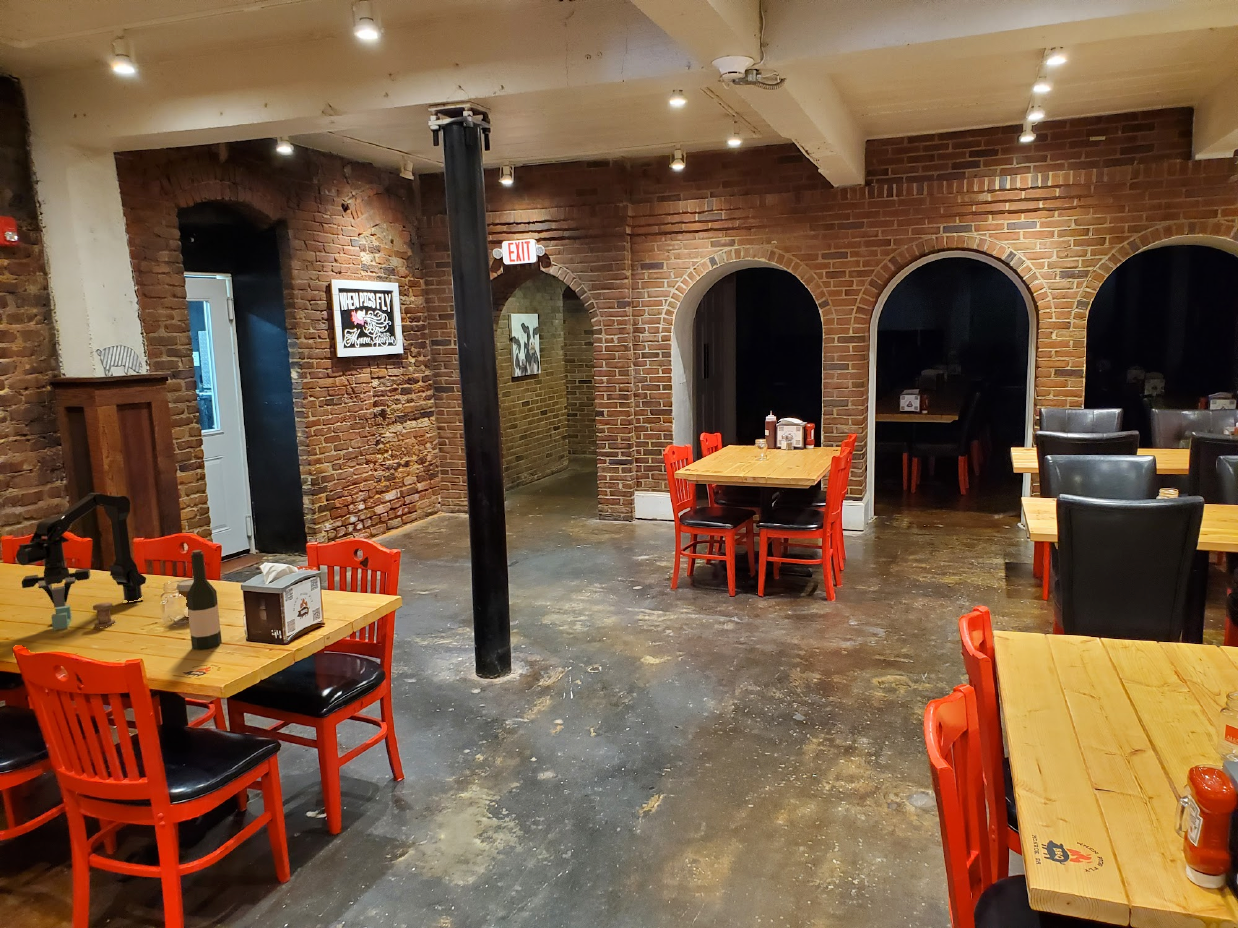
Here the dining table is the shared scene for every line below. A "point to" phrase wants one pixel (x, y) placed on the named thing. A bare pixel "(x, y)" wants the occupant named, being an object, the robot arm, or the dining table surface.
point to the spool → (103, 614)
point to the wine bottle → (202, 608)
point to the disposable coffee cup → (184, 587)
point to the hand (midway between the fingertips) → (60, 602)
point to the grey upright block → (58, 596)
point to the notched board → (61, 617)
